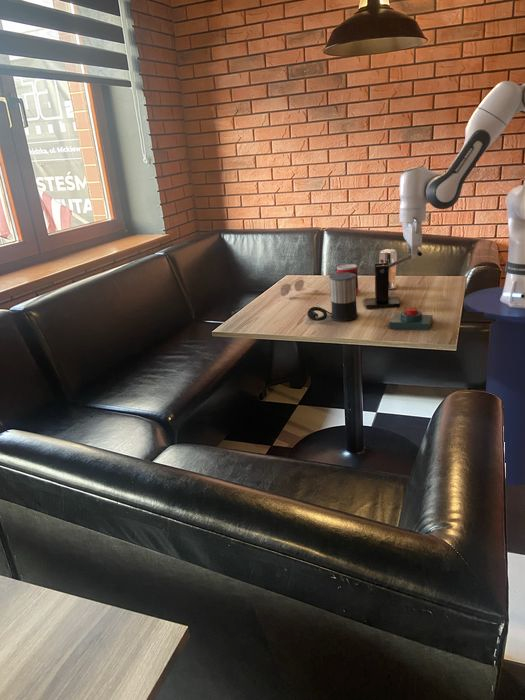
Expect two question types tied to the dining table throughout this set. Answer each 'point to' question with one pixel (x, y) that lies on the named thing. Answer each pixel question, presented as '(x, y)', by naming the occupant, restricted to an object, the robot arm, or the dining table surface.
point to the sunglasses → (286, 288)
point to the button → (411, 311)
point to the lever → (403, 259)
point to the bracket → (381, 289)
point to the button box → (411, 321)
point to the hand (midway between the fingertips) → (412, 255)
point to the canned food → (349, 271)
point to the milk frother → (339, 299)
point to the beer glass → (388, 257)
